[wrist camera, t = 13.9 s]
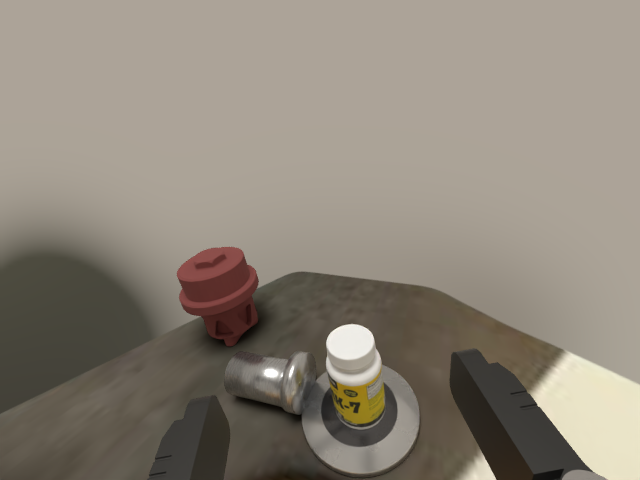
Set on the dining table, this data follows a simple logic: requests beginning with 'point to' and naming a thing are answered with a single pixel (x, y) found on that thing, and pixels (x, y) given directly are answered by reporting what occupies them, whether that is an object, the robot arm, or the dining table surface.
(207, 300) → the mechanical component
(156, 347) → the dining table surface
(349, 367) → the supplement bottle
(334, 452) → the flange fitting
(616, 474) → the dining table surface
